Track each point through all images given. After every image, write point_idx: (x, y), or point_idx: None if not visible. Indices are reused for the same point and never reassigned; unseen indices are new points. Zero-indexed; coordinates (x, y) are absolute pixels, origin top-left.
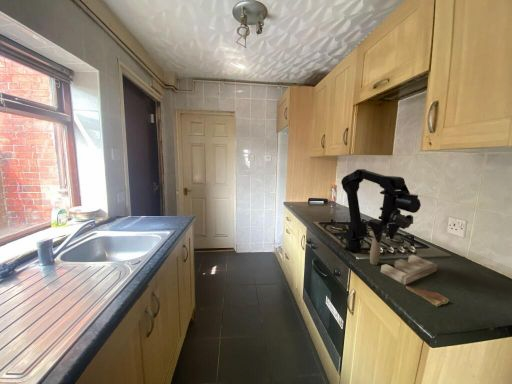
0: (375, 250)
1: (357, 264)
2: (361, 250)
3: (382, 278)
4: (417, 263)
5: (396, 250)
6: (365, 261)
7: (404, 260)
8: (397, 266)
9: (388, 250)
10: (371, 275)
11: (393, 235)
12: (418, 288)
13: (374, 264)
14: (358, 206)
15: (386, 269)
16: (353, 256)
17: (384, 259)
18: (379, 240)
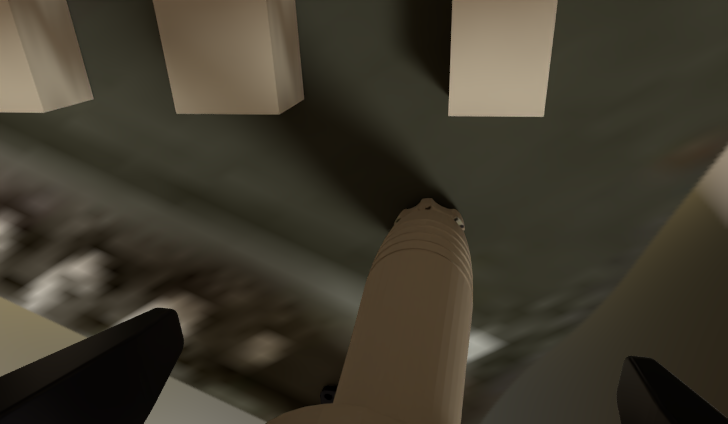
0: (462, 301)
1: (594, 287)
2: (327, 390)
3: (659, 3)
4: (48, 15)
5: (31, 259)
6: None
7: (168, 74)
8: (292, 71)
9: (94, 289)
10: (702, 98)
11: (107, 358)
12: None
13: (452, 209)
14: None
15: (549, 45)
16: (477, 374)
17: (260, 222)
18: (708, 403)
